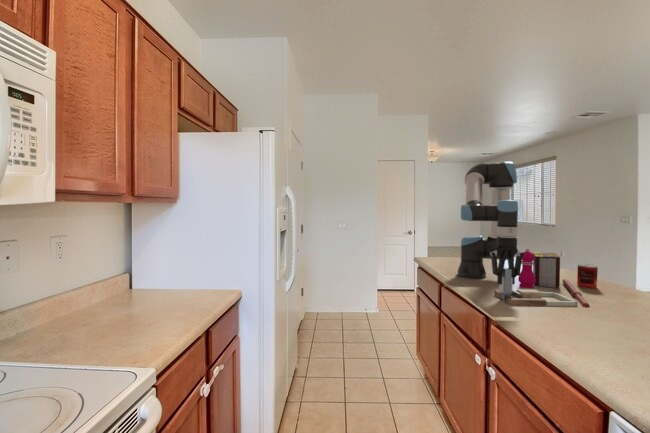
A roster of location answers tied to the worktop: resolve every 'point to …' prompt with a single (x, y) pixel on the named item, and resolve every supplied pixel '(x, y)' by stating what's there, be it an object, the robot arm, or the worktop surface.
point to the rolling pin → (575, 293)
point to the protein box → (546, 269)
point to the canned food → (587, 276)
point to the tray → (565, 301)
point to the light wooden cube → (535, 293)
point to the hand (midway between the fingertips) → (505, 291)
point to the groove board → (523, 300)
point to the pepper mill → (527, 270)
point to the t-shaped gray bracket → (509, 286)
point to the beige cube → (524, 293)
